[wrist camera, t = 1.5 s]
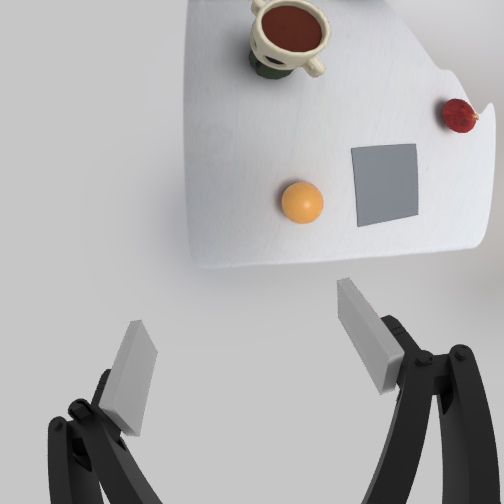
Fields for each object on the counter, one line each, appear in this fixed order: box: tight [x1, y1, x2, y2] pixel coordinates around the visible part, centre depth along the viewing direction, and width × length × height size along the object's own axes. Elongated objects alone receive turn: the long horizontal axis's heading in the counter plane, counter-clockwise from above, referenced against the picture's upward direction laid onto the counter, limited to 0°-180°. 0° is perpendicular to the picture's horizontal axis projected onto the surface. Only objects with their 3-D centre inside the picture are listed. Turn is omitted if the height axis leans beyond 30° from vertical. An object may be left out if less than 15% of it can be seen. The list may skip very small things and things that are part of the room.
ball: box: [281, 182, 323, 224], centre depth 36 cm, size 6×6×6 cm
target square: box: [351, 144, 418, 227], centre depth 38 cm, size 12×12×1 cm
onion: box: [443, 99, 479, 133], centre depth 30 cm, size 6×6×8 cm
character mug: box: [249, 0, 331, 79], centre depth 24 cm, size 11×7×13 cm, turn 38°
